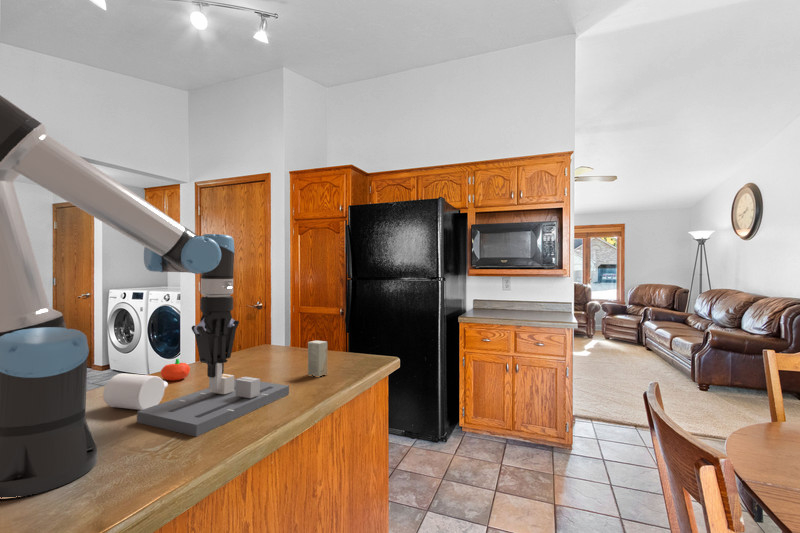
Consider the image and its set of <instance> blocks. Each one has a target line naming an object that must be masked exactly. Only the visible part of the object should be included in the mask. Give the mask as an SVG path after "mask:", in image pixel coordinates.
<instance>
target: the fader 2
mask: <svg viewBox="0 0 800 533" xmlns="http://www.w3.org/2000/svg"><path fill="white" fill-rule="evenodd" d="M238 378H239V379H237V378H235V379H236V393H235V396H240V397H246V398H253V397H255V396H257V395H260V381H261V378H258V377H250V376H242V377H238Z"/></svg>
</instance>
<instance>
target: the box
mask: <svg viewBox="0 0 800 533" xmlns="http://www.w3.org/2000/svg"><path fill="white" fill-rule="evenodd" d="M324 374H327V375H328V341H326V340H324V341H323V340H313V341H308V342H307V376H308V375H313V376H321V375H324ZM313 376H312V377H313Z"/></svg>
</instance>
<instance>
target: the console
mask: <svg viewBox="0 0 800 533" xmlns="http://www.w3.org/2000/svg"><path fill="white" fill-rule="evenodd" d="M239 378H240V377H238V378H237V377H236V378H234V391H232V392H230V393H227V394H219V393H213V392H210V389H209V387H207V388H204V389H201V390H198V391H195V392H191V393H189V394H186V395H182V396H180V397H177V398H174V399H171V400H168V401H165V402H162V403H159V404H158V405H155V406H152V407H149V408H146V409H143V410H136V411H137V412H136V423H138V424H142V425H147V426H150V427H154V428H158V429H164V430H168V431H172V432H177V433H180V434H184V435H189V436H192V437H199V436H201V435H203V434H206V433H207V432H209V431H212V430H214V429H216V428H218V427H220V426H223V425H225V424H227V423H229V422H231V421H234V420H236V419H238V418H240V417H243V416H245V415H247V414H249V413H251V412H254V411H257V410H258V409H261V408H262V407H265V406H267V405H269V404H271V403H274V402H276V401H277V399H278V400H280V399H282V398H284V397H286V395H287V396H289V395H288V394H290V385H288V384H280V383H273V382H266V381H261V380H260V395H257V396H255V397H253V398H246V397H240V396H235V393H236V379H239ZM281 397H282V398H281ZM275 400H276V401H275ZM264 405H265V406H264Z"/></svg>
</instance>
